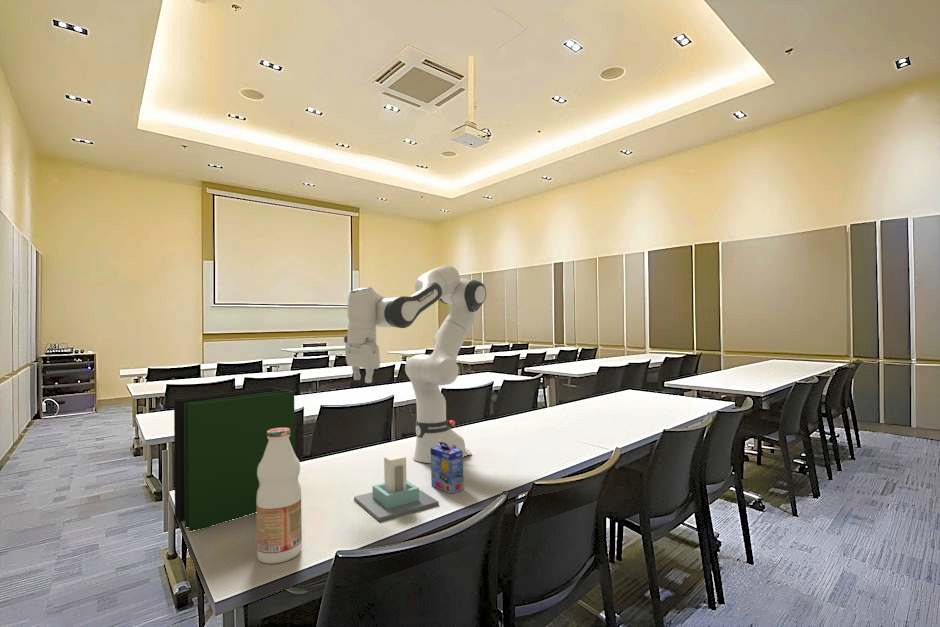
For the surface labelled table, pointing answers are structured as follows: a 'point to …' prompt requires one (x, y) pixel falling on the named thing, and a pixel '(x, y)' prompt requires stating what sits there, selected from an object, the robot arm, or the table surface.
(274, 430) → the fruit juice
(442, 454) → the ink cartridge box
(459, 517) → the table surface
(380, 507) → the socket dock
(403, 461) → the keyed plug
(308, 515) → the table surface
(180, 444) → the binder
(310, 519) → the table surface
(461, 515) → the table surface
